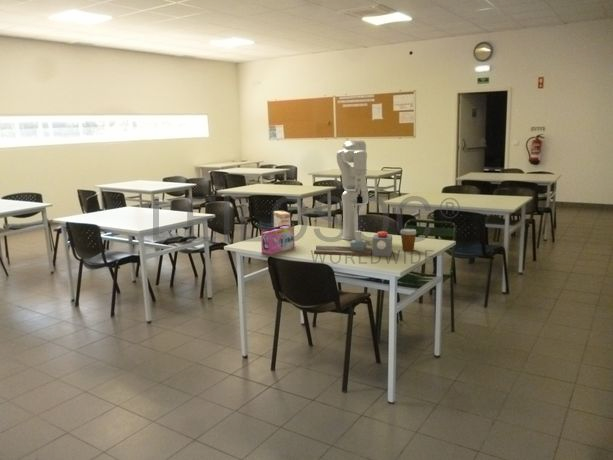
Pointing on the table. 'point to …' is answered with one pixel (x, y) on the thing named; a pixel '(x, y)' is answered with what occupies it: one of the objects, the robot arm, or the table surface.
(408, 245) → the disposable coffee cup
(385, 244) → the gauge cabinet
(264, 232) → the gum box
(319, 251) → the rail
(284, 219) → the coffeecake box
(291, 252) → the table surface
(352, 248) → the carriage
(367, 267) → the table surface
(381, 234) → the gauge button
